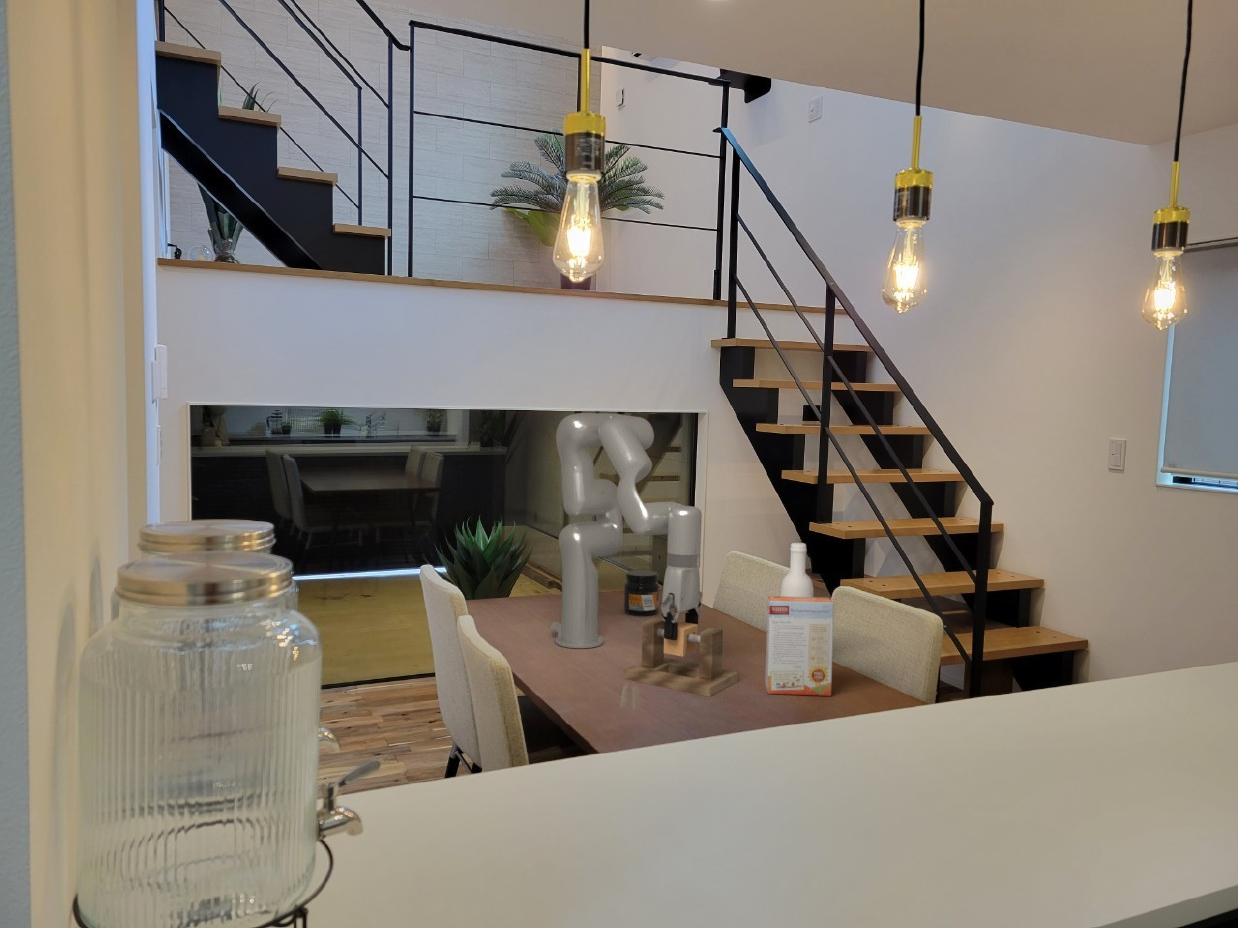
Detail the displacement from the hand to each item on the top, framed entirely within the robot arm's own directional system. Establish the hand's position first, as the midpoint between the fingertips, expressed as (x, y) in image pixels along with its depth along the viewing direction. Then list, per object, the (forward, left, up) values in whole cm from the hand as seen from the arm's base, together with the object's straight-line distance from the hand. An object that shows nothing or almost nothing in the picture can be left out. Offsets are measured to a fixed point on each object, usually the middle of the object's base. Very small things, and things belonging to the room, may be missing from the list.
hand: (681, 634), depth 208 cm
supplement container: (-42, +51, -11) cm, 67 cm away
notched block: (0, 0, -4) cm, 4 cm away
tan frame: (0, 0, -10) cm, 10 cm away
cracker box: (+25, +8, -11) cm, 28 cm away
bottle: (+17, +26, -11) cm, 33 cm away
